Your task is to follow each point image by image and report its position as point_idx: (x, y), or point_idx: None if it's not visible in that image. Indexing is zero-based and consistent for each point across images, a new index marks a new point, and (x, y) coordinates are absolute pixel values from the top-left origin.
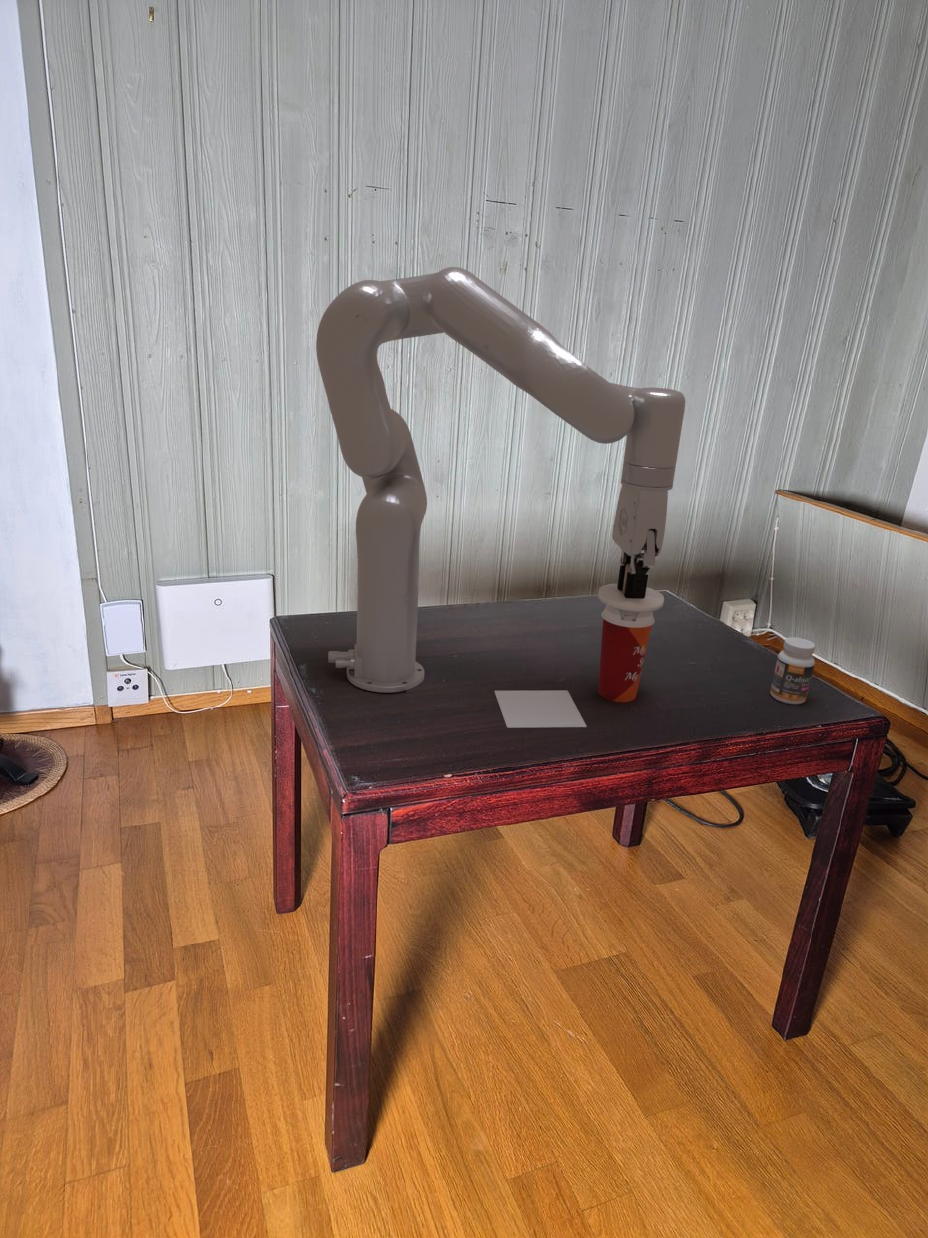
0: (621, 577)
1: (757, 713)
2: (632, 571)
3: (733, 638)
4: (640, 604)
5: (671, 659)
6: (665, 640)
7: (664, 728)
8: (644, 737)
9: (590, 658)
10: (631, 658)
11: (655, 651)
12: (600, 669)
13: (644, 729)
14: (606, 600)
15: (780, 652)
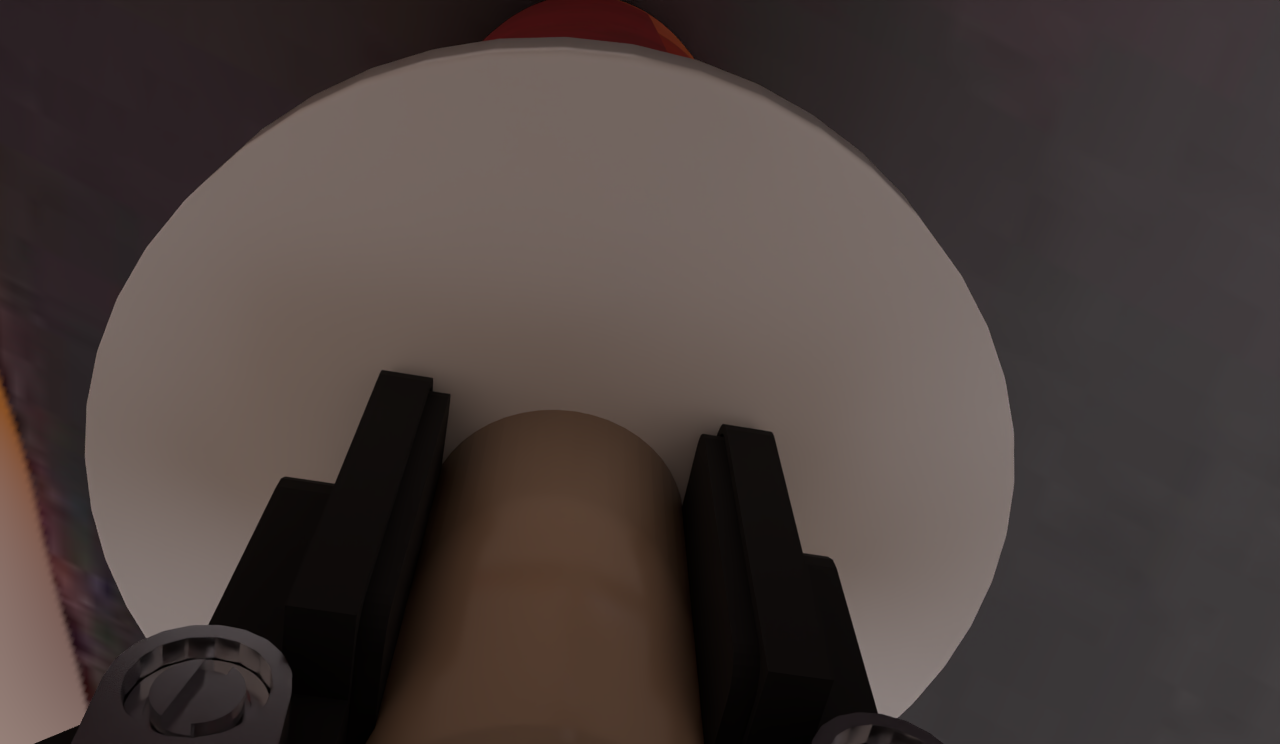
0: (717, 550)
1: None
2: (108, 678)
3: None
4: (127, 456)
5: (957, 655)
6: (1191, 738)
7: (132, 201)
8: (16, 19)
9: (1149, 208)
10: None
11: (1083, 626)
12: (611, 16)
13: (121, 72)
14: (403, 65)
15: None
